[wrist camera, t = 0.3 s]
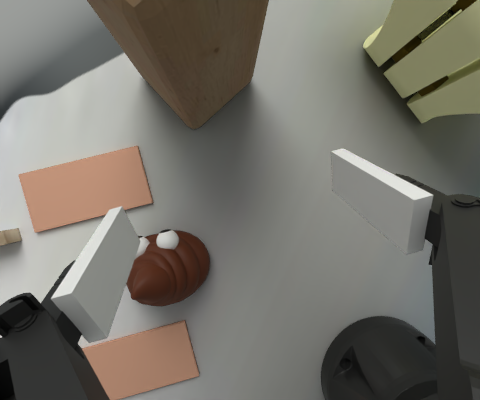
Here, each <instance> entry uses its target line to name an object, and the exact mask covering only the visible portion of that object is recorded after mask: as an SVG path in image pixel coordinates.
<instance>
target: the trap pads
mask: <svg viewBox="0 0 480 400" xmlns="http://www.w3.org/2000/svg"><path fill="white" fill-rule="evenodd" d="M19 179H20V182H21V186H22V189H23V192H24V196H25V199H26V203H27V206H28V210H29V213H30V217H31V220H32V224H33V227H34V231H35V233H36V232H40V231H44V230H48V229H52V228H56V227H60V226H64V225H67V224H71V223H75V222H79V221H83V220H87V219H91V218H95V217H99V216H103V215H106V214H107V213H108V211H109V210H110V209H113V208H117V207H121V206H122V207H123V209H124V210H126V209H130V208H134V207H138V206H142V205H146V204H150V203H153V200H152V196H151V192H150V188H149V185H148V181H147V177H146V174H145V170H144V166H143V162H142V159H141V155H140V151H139V148H138V146H134V147H130V148H126V149H122V150H118V151H114V152H109V153H105V154H101V155H97V156H93V157H89V158H85V159H81V160H77V161H72V162H68V163H64V164H60V165H56V166H52V167H48V168H44V169H40V170H36V171H31V172H27V173H23V174H19ZM82 350H83V352H84V353H85V355H86V357H87V359H88V361H89V363H90V364H91V366H92V368H93V370H94V372H95V374H96V375H97V377H98V379H99V381H100V383H101V384H102V386H103V388H104V390H105V392H106V394H107V395H108V397H109V399H110V400H118V399H121V398H125V397H128V396H132V395H135V394H139V393H142V392H146V391H149V390H153V389H156V388H160V387H163V386H166V385H170V384H173V383H177V382H180V381H184V380H187V379H191V378H194V377H198V376H199V371H198V367H197V363H196V360H195V356H194V352H193V348H192V345H191V341H190V337H189V334H188V330H187V326H186V322H185V320H184V321H180V322H177V323H173V324H169V325H166V326H162V327H159V328H155V329H151V330H148V331H144V332H141V333H137V334H133V335H130V336H126V337H123V338H119V339H115V340H112V341H108V342H105V343H101V344H97V345H94V346H90V347H87V348H83V349H82Z"/></svg>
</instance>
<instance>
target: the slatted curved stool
mask: <svg viewBox="0 0 480 400" xmlns="http://www.w3.org/2000/svg"><path fill="white" fill-rule="evenodd" d="M449 9H451V10H452V11H453V13H454V15H453V16H452V17H450V18H449V19H448V20H447V21H446V22H444V23H443V24H442V25H441V26H440V27H438V28H437V29H436V30H435V31H434V32H432V33H431V34H430V35H429V36H428V37H426V38H425V39H424V40H423V41H421V40H420V39H419V37H418V36H417V35H418V34H420V33H421V32H422V31H423V30H424V29H426V28H427V27H428V26H429V25H430V24H432V23H433V22H434V21H435V20H436V19H438V18H439V17H440V16H441V15H443V14H444V13H445V12H446V11H447V10H449ZM363 47H364V49H365V50H366V51H367V53H368V54H369V55H370V57H371V58H372V59H373V61H374V62H375V63H376V65H377V66H378V67H380V66H381V65H382V64H383V63H384V62H386V61H387V60H388V59H389V58H390V57H392V59H393V60H394V61H395V64H394V65H392V66H391V67H390V68H389V69H388V70H387V71H385V72H384V73H383V74H384V75H385V76H386V78H387V79H388V80H389V82H390V83H391V84H392V85H393V87H394V88H395V89H396V91H397V92H398V93H399V95H400V96H401V97H402V98H405V97H407V96H409V95H411V94H413V93H415V92H418V93H416V94H415V95H414V96H413V97H412V98H411V99H410V100H409V101H408V102H407V105H408V106H409V108H410V109H411V110H412V112H413V113H414V114H415V116H416V117H417V118H418V119H419V121H420V122H421V123H425V122H427V121H429V120H430V119H432V118H434V117H439V116H446V115H455V114H480V0H394V1H393V4H392V7H391V9H390V12H389V14H388V16H387V18H386V21H385V23H384V25H382V26H381V27H380V28H379V29H377V30H376V31H375V32H374V33H373V34H371V35H370V36H369V37H368V38H367V39H366V41H365V42H364V45H363Z"/></svg>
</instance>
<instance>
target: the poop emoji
mask: <svg viewBox="0 0 480 400" xmlns="http://www.w3.org/2000/svg"><path fill="white" fill-rule="evenodd" d="M138 237H139V239H140V241H141V242H140V245H139V248H138V251H137V254H136V257H135V260H134V262H133V265H132V268H131V271H130V274H129V277H128V280H127V283H126V285H127V286H128V289H129V292H130V293H131V298H132V299H133V300H136V301H138V302H139V303H141V304H147V305H151V306H166V305H170V304H173V303H177V302H180V301H182V300H184V299H186V298H187V297H189V296H190V295H192V294H193V293H194V292H195V291H196V290H197V289H198V288H199V287H200V286H201V285H202V284H203V282H204V281H205V279H206V277H207V275H208V272H209V267H210V259H209V254H208V251H207V249H206V247H205V245H204V244H203V243H202V242H201V241H200V240H199V239H198V238H197V237H195V236H194V235H192V234H190V233H187V232H183V231H172V230H171V229H167V230H163V231H161V232H160V233H159V234H154V235H149V236H147V237H142V236H138Z"/></svg>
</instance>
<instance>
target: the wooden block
mask: <svg viewBox="0 0 480 400" xmlns="http://www.w3.org/2000/svg"><path fill="white" fill-rule="evenodd" d="M87 1H88V2H89V4H90V5H91V7H92V8H93V9H94V11H95V12H96V13H97V15H98V16H99V18H100V19H101V20H102V22H103V23H104V25H105V26H106V27H107V29H108V30H109V31H110V33H111V34H112V36H113V37H114V38H115V40H116V41H117V42H118V44H119V45H120V47H121V48H122V49H123V51H124V52H125V54H126V55H127V56H128V58H129V59H130V61H131V62H132V63H133V65H134V66H135V67H136V69H137V70H138V72H139V73H140V74H141V76H142V77H143V78H144V79H145V80H146V81H147V82H148V83H149V84H150V85H151V86H152V88H153V89H154V90H155V91H156V92H157V93H158V94H159V95H160V96H161V97H162V99H163V100H164V101H165V102H166V103H167V104H168V105H169V106H170V107H171V108H172V109H173V111H174V112H175V113H176V114H177V115H178V116H179V117H180V118H181V119H182V120H183V122H184V123H185V124H186V125H187V126H188V127H190V128H192V129H197V128H199V127H201V126H202V125H203V124H204V123H205V122H206V121H208V120H209V119H210V118H211V117H212V116H213V115H214V114H215V113H216V112H218V111H219V110H220V109H221V108H222V107H223V106H224V105H225V104H226V103H227V102H229V101H230V100H231V99H232V98H233V97H234V96H235V95H236V94H237V93H239V92H240V91H241V90H242V89H243V88H244V87H245V86H246V85H247V84H248V83H250V81H251V79H252V77H253V72H254V68H255V63H256V58H257V54H258V49H259V44H260V39H261V35H262V30H263V25H264V20H265V16H266V11H267V6H268V2H269V0H87Z"/></svg>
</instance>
